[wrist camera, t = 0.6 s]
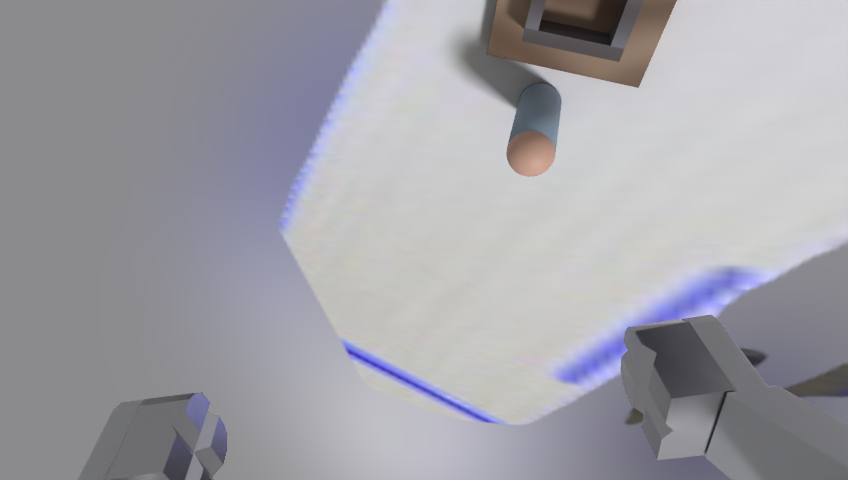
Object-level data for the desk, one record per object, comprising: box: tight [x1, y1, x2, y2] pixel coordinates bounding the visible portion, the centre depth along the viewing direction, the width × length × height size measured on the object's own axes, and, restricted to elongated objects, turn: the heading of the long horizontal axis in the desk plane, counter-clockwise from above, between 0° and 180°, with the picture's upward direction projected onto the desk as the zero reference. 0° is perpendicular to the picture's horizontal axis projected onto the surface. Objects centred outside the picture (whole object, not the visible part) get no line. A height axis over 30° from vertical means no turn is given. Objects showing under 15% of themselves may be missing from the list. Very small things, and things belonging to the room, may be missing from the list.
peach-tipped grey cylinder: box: [507, 83, 561, 176], centre depth 49 cm, size 4×4×12 cm
